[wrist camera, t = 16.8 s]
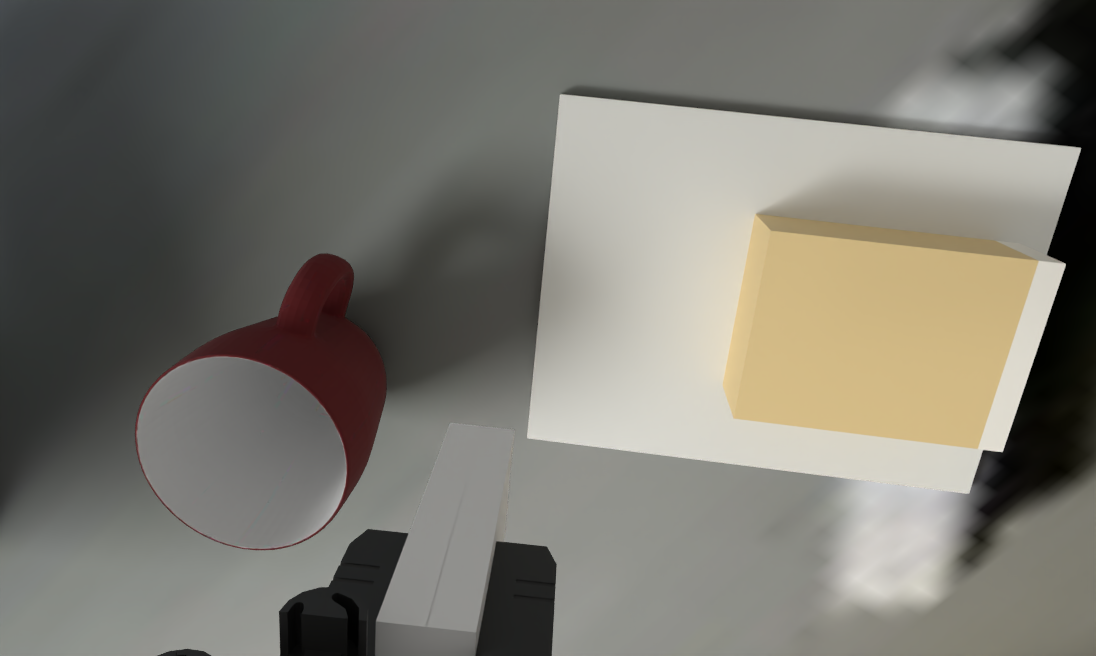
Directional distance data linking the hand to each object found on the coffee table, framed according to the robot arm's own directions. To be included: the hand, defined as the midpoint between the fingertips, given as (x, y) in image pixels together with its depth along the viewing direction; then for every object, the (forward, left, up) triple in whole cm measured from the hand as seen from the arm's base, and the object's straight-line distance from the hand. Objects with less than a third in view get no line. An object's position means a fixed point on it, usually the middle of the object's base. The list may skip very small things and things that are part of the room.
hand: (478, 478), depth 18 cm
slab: (+9, 0, -16) cm, 18 cm away
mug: (-10, -4, -18) cm, 21 cm away
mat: (+10, 0, -18) cm, 21 cm away
